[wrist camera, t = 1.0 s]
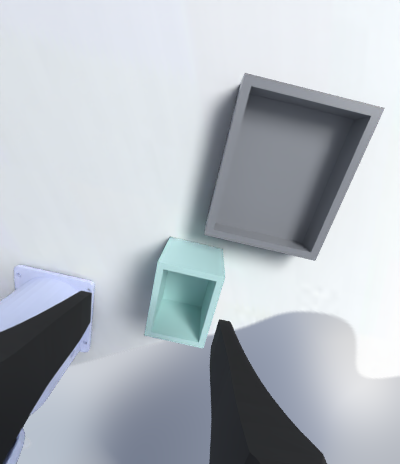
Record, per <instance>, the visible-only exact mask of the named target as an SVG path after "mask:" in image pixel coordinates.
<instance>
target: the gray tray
mask: <svg viewBox="0 0 400 464" xmlns="http://www.w3.org/2000/svg"><path fill="white" fill-rule="evenodd" d="M383 111H384V108H382V107H378V106H374V105H370V104H366V103H362V102H359V101H355V100H351V99H347V98H343V97H339V96H335V95H331V94H327V93H323V92H319V91H315V90H311V89H307V88H303V87H299V86H295V85H291V84H287V83H283V82H279V81H275V80H271V79H267V78H263V77H259V76H255V75H251V74H247V73H245V74H244V76H243V79H242V81H241V83H240V88H239V92H238V96H237V100H236V104H235V108H234V112H233V116H232V120H231V124H230V128H229V132H228V136H227V140H226V144H225V148H224V152H223V156H222V160H221V164H220V168H219V172H218V176H217V180H216V184H215V188H214V192H213V196H212V200H211V204H210V208H209V212H208V216H207V220H206V224H205V232H204V235H207V236H211V237H216V238H220V239H224V240H229V241H233V242H237V243H241V244H246V245H250V246H254V247H259V248H263V249H267V250H272V251H276V252H280V253H284V254H289V255H293V256H297V257H302V258H306V259H310V260H314V261H315V260H316V258H317V256H318V254H319V251H320V249H321V247H322V245H323V243H324V240H325V238H326V236H327V234H328V232H329V229H330V227H331V225H332V223H333V221H334V218H335V216H336V214H337V212H338V210H339V207H340V205H341V203H342V201H343V199H344V196H345V194H346V192H347V190H348V188H349V185H350V183H351V181H352V179H353V177H354V174H355V172H356V170H357V168H358V166H359V163H360V161H361V159H362V157H363V155H364V152H365V150H366V148H367V146H368V144H369V141H370V139H371V137H372V135H373V133H374V130H375V128H376V126H377V124H378V122H379V119H380V117H381V115H382V113H383Z"/></svg>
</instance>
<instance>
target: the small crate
mask: <svg viewBox="0 0 400 464" xmlns="http://www.w3.org/2000/svg"><path fill="white" fill-rule="evenodd" d="M224 279H225V270H224V259H223V249H221V248H216V247H212V246H208V245H203V244H199V243H195V242H190V241H186V240H182V239H177V238H173V237H170V238H169V240H168V242H167V244H166V246H165V248H164V250H163V252H162V254H161V256H160V258H159V260H158V263H157V268H156V274H155V279H154V285H153V290H152V296H151V301H150V307H149V312H148V318H147V323H146V329H145V334H144V335H145V336H149V337H154V338H158V339H163V340H167V341H172V342H177V343H181V344H186V345H191V346H195V347H199V348H204V344H205V341H206V338H207V335H208V331H209V328H210V325H211V322H212V318H213V315H214V312H215V309H216V305H217V302H218V299H219V296H220V292H221V289H222V286H223V283H224Z"/></svg>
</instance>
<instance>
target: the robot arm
mask: <svg viewBox="0 0 400 464" xmlns="http://www.w3.org/2000/svg"><path fill="white" fill-rule="evenodd" d="M20 274H21V275H20ZM14 279H15V291H14V292H13V293H11V294H10V295H8V296H7V297H6V298H4V299H3V300H1V301H0V464H17V461H18V459H19V456H20V453H21V450H22V448H23V444H24V440H25V432H24V429H23V426H24V424H25V422H26V421H27V419H28V417H29V416H30V415H31V414H33V413H34V412H35V411H36V410H37V409H38V408H40V407H41V406H42V404H43V403H44V402H45V401H46V399H47V398H48V397H49V395H50V394H51V392H52V391H53V389H54V388H55V386H56V385H57V383H58V382H59V380H60V378H61V377H62V376H63V374H64V373H65V371H66V369H67V368H68V367H69V365H70V364H71V362H72V361H73V359H74V358H75V356H76V355H77V353H78V352H79V351H81V352H88V351H89V349H90V342H91V329H92V315H93V302H94V289H95V284H94V282H92V281H90V280H86V279H81V278H77V277H73V276H68V275H64V274H59V273H55V272H50V271H46V270H42V269H37V268H33V267H28V266H24V265H17V266H16V267H15V268H14ZM87 288H88V289H90V291H89V290H88V289H87ZM210 386H211V413H212V415H211V416H212V417H211V418H212V421H211V422H212V423H211V444H210V463H209V464H327V463H326V460H325V458H324V456H323V454H322V453H321V452H320V451H319V450H318V449H317V448H316V447H315V445H314V444H312V442H311V441H310V440H309V439H308V438H307V437H306V436H305V435H304V434H303V433H302V432H301V431H300V430H299V429H298V428H297V427H296V426H295V424H293V422H292V421H291V420H290V419H289V418H288V417H287V415H286V414H285V413H284V412H283V410H282V409H281V408H280V407H279V405H278V404H277V403H276V402H275V400H274V399H273V398H272V396H271V395H270V394H269V392H268V391H267V390H266V388H265V387H264V385H263V384H262V382H261V381H260V379H259V378H258V376H257V374H256V373H255V371H254V369H253V367H252V366H251V364H250V362H249V360H248V358H247V357H246V355H245V353H244V351H243V349H242V347H241V345H240V343H239V340H238V338H237V336H236V334H235V331H234V329H233V327H232V324H231V322H230V321H225V320H220V319H219V322H218V325H217V329H216V332H215V335H214V339H213V342H212V345H211V355H210Z"/></svg>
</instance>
